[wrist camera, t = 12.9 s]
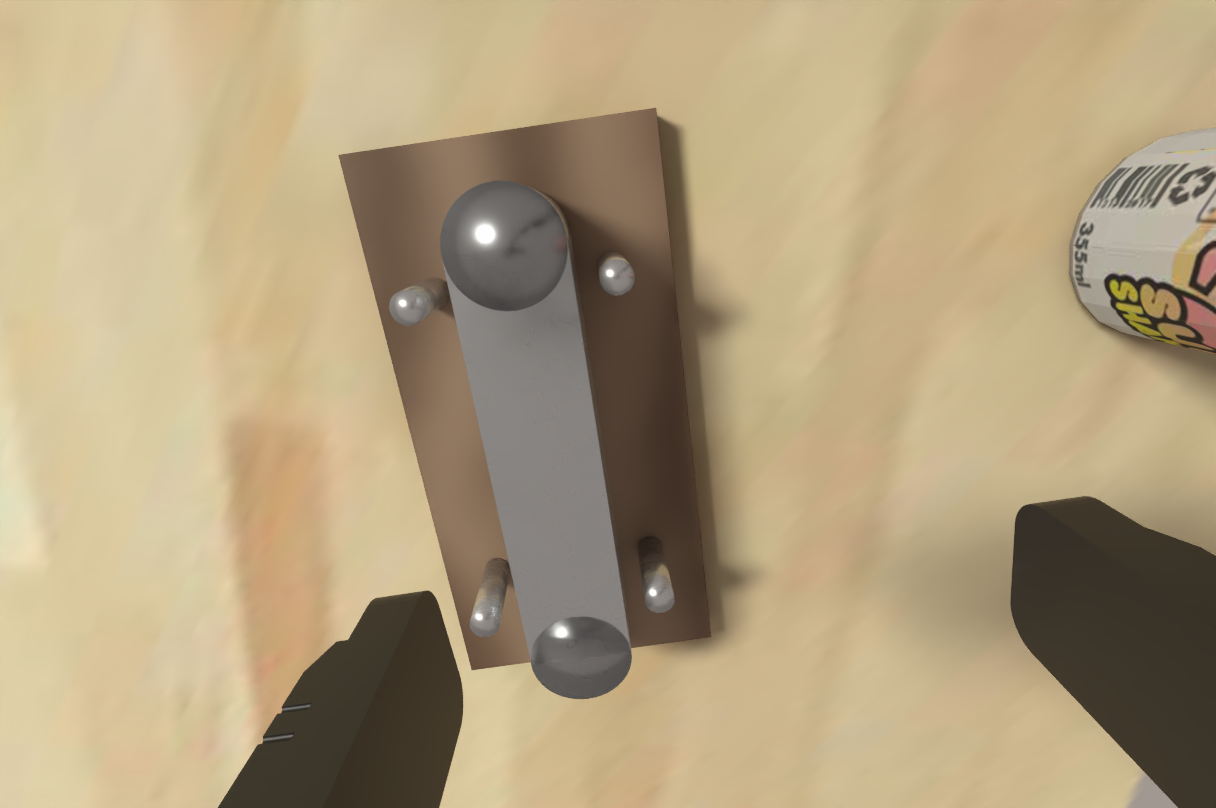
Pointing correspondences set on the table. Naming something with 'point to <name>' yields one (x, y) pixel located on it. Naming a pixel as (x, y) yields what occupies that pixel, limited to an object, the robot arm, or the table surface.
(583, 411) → the grey long metal bar
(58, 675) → the table surface
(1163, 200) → the beverage can
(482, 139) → the tool rest
